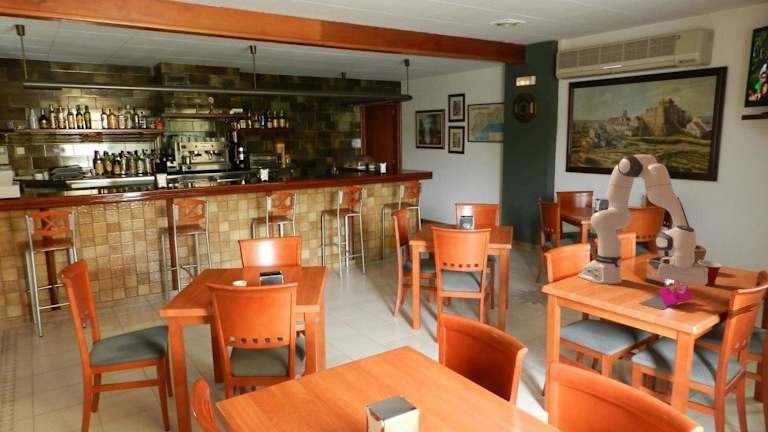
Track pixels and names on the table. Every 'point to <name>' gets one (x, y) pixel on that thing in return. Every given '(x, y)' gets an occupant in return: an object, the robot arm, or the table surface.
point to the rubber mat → (655, 303)
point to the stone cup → (699, 253)
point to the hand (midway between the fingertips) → (681, 290)
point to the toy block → (675, 296)
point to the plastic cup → (711, 270)
